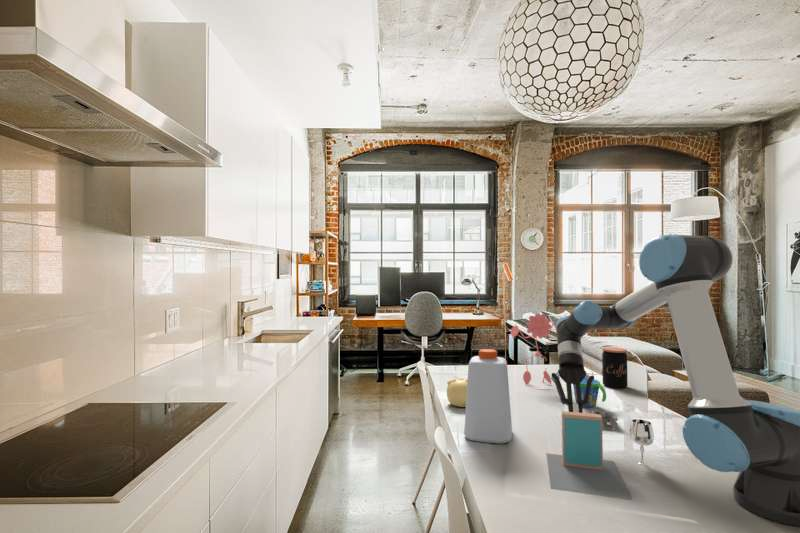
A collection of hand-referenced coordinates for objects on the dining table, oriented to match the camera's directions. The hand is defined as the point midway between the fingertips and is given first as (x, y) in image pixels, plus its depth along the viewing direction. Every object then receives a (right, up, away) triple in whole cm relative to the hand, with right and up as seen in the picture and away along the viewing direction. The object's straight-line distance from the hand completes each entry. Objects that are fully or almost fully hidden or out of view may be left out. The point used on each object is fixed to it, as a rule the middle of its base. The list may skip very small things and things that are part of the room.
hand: (576, 426), depth 120 cm
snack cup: (+24, -10, +47) cm, 54 cm away
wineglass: (+16, -9, -6) cm, 19 cm away
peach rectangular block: (-2, -8, -7) cm, 11 cm away
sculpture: (-27, -10, +48) cm, 56 cm away
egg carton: (+21, -10, +26) cm, 35 cm away
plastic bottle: (-23, -9, +16) cm, 29 cm away
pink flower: (+16, -11, +78) cm, 80 cm away
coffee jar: (+52, -11, +77) cm, 93 cm away
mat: (-3, -8, -12) cm, 15 cm away
